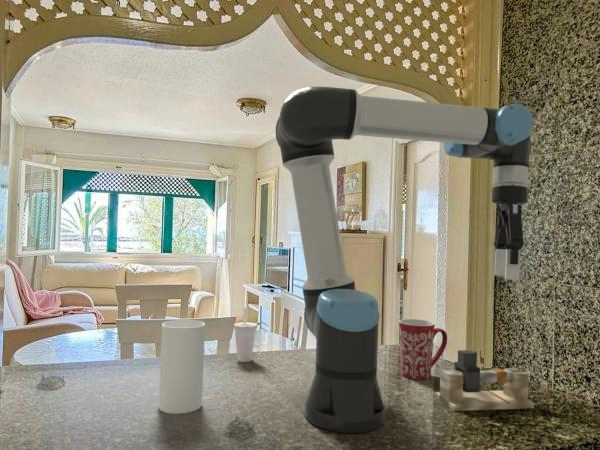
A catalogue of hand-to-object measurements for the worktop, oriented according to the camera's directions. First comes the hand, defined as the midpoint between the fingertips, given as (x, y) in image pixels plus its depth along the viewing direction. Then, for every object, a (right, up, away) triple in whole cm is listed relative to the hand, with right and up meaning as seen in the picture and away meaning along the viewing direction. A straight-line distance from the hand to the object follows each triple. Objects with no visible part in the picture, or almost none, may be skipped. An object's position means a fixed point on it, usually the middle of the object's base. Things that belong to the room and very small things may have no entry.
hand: (505, 277), depth 104 cm
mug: (-17, -26, +10) cm, 32 cm away
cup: (-71, -23, -16) cm, 77 cm away
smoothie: (-63, -25, +18) cm, 70 cm away
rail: (-9, -26, -8) cm, 28 cm away
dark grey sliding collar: (-12, -22, -9) cm, 27 cm away
